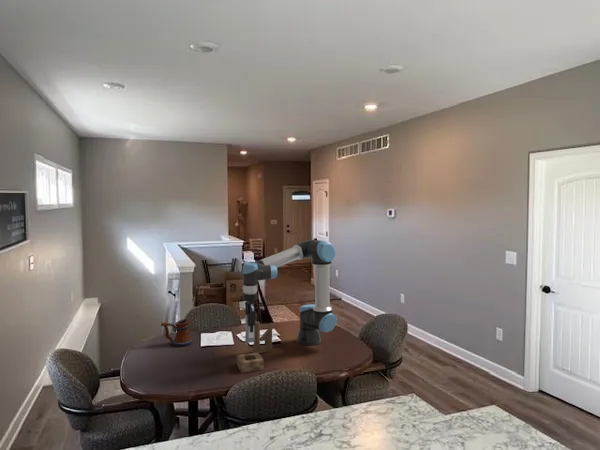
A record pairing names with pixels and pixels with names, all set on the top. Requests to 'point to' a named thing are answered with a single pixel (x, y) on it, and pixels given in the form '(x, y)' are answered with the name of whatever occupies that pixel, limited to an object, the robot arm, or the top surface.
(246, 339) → the peg
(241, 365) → the socket block
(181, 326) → the mug
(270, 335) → the brown braced frame
